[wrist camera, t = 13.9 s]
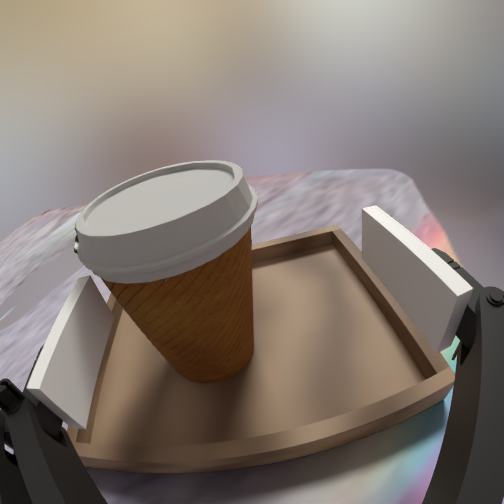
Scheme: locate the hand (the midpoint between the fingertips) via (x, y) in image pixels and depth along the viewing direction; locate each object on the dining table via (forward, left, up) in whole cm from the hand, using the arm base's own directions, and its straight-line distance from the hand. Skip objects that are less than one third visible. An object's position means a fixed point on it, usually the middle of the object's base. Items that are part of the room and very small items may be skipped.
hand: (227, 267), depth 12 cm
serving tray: (-1, +4, -10) cm, 11 cm away
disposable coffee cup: (-3, +3, -9) cm, 10 cm away
